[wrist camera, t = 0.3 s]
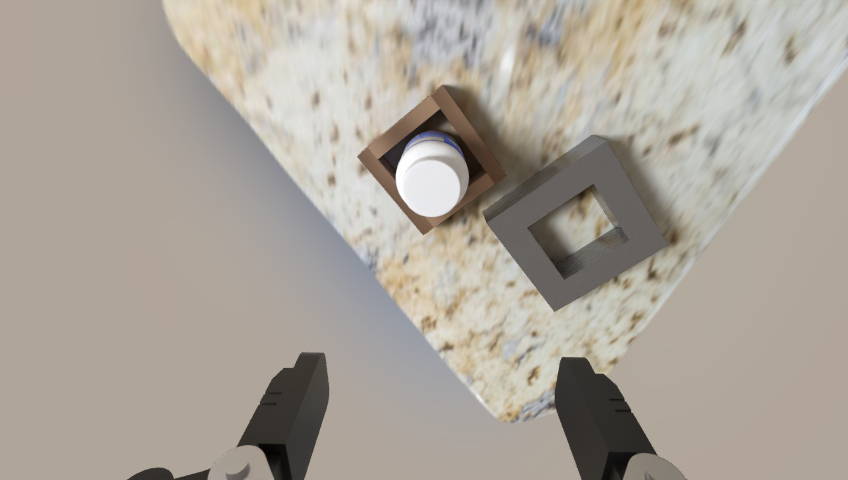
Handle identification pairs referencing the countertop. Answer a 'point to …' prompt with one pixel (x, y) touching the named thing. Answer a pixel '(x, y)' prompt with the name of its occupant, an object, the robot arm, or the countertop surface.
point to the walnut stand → (405, 126)
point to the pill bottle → (432, 174)
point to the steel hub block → (554, 188)
